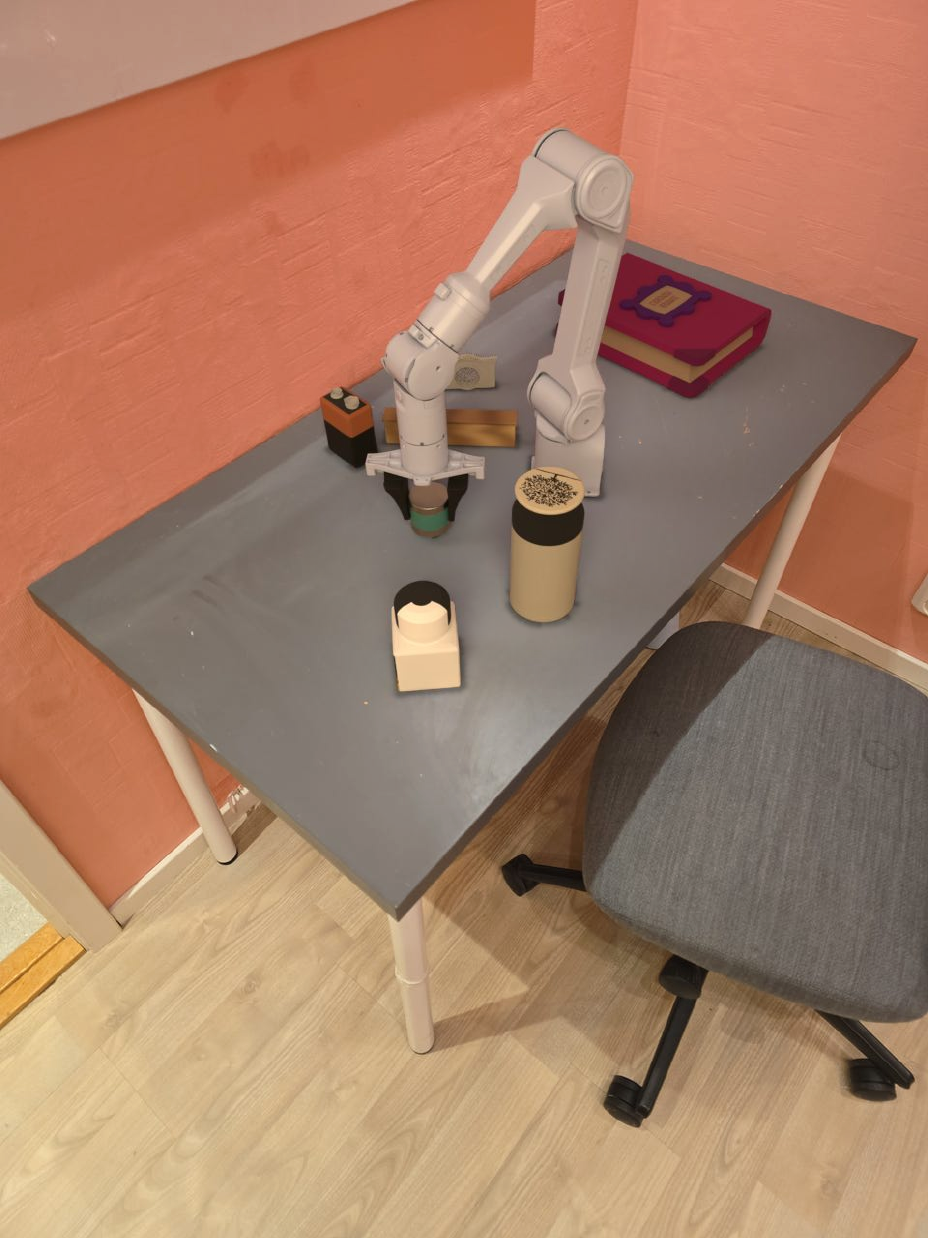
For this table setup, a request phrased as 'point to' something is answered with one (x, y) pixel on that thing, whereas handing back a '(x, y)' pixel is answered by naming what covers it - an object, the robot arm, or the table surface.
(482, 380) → the lattice window wall
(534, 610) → the travel mug
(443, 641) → the cream block figurine
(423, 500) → the tin can
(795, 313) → the table surface
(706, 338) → the book
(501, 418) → the wooden block
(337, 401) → the battery
